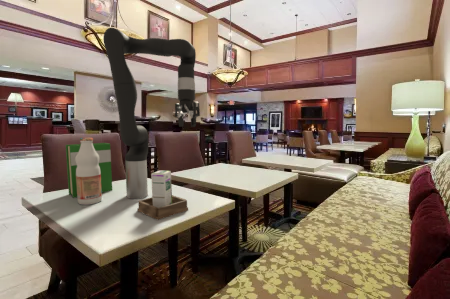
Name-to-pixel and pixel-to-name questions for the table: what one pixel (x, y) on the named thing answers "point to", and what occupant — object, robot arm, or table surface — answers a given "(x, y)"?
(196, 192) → the table surface
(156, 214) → the socket stand
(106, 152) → the hardback book
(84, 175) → the fruit juice
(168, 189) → the syrup box
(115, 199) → the table surface
